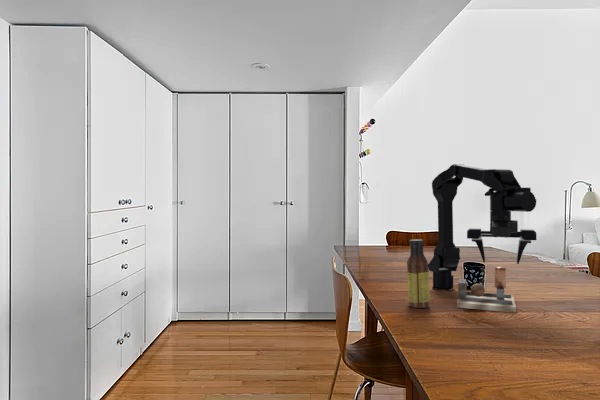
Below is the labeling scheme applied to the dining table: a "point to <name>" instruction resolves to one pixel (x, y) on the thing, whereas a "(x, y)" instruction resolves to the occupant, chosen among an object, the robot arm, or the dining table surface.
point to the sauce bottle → (418, 276)
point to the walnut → (477, 290)
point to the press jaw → (500, 281)
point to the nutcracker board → (484, 300)
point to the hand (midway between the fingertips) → (500, 263)
